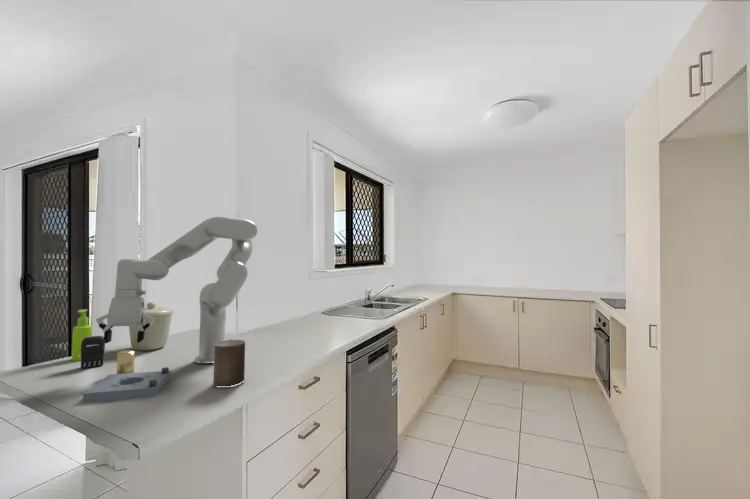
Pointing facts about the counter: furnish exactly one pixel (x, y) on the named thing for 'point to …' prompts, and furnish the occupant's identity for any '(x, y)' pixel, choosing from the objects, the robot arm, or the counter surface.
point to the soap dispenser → (80, 334)
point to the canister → (153, 329)
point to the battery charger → (92, 351)
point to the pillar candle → (229, 362)
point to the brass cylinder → (125, 362)
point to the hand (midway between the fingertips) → (124, 342)
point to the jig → (128, 386)
